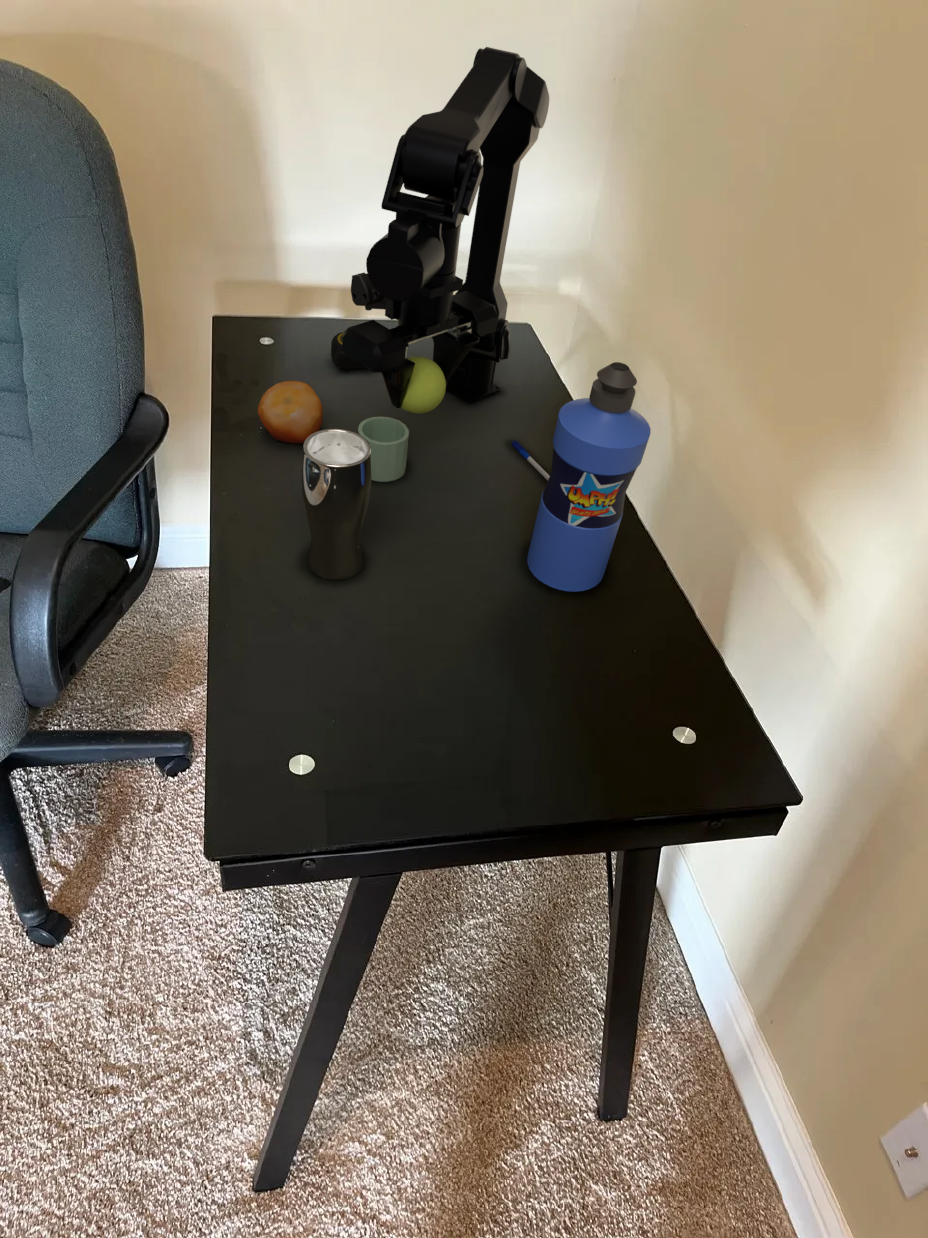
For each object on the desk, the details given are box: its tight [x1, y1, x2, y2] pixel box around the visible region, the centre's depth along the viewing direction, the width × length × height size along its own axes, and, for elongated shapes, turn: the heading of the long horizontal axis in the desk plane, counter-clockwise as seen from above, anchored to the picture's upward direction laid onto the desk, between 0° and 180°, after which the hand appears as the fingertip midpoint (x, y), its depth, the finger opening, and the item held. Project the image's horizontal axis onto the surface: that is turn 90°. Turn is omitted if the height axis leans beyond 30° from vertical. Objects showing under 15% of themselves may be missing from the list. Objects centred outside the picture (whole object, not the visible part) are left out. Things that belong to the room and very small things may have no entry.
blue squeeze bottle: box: [526, 361, 652, 593], centre depth 87 cm, size 9×9×25 cm
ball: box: [400, 355, 447, 415], centre depth 96 cm, size 6×6×6 cm
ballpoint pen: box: [511, 439, 550, 482], centre depth 110 cm, size 10×1×1 cm, turn 33°
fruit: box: [257, 380, 324, 444], centre depth 106 cm, size 8×8×8 cm
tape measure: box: [330, 331, 368, 370], centre depth 122 cm, size 7×7×4 cm
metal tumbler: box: [301, 428, 372, 581], centre depth 86 cm, size 7×7×15 cm
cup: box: [357, 416, 410, 483], centre depth 103 cm, size 6×6×6 cm
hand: (416, 398), depth 97 cm, fingers closed on ball, 6 cm apart
